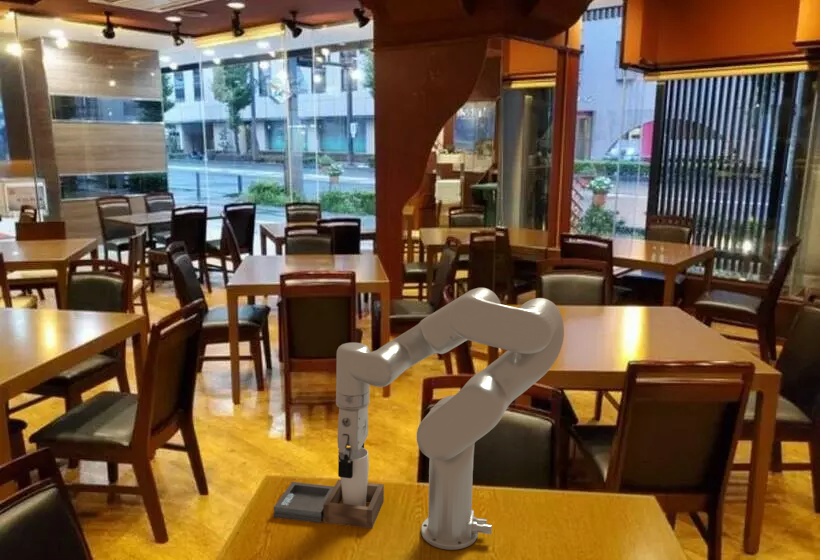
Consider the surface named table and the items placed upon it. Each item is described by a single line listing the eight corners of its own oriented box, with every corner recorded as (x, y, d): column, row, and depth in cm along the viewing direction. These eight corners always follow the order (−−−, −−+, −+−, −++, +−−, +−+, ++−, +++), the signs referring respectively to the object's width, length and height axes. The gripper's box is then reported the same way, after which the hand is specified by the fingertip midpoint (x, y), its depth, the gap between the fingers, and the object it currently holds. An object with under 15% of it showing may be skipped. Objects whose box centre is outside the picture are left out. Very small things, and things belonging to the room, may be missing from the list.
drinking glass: (334, 515, 144) (333, 455, 141) (350, 501, 149) (349, 443, 147) (359, 523, 141) (358, 462, 138) (374, 508, 146) (374, 450, 143)
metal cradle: (336, 495, 152) (336, 486, 151) (320, 523, 140) (320, 513, 140) (292, 490, 154) (292, 481, 154) (273, 517, 142) (273, 507, 142)
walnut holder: (383, 501, 149) (383, 484, 149) (372, 528, 138) (372, 510, 138) (338, 496, 152) (338, 479, 151) (323, 522, 141) (323, 504, 140)
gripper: (358, 414, 131) (357, 488, 134) (377, 385, 147) (376, 451, 151) (324, 410, 132) (324, 483, 135) (347, 382, 149) (346, 447, 152)
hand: (351, 466), depth 143 cm, fingers open, 9 cm apart
